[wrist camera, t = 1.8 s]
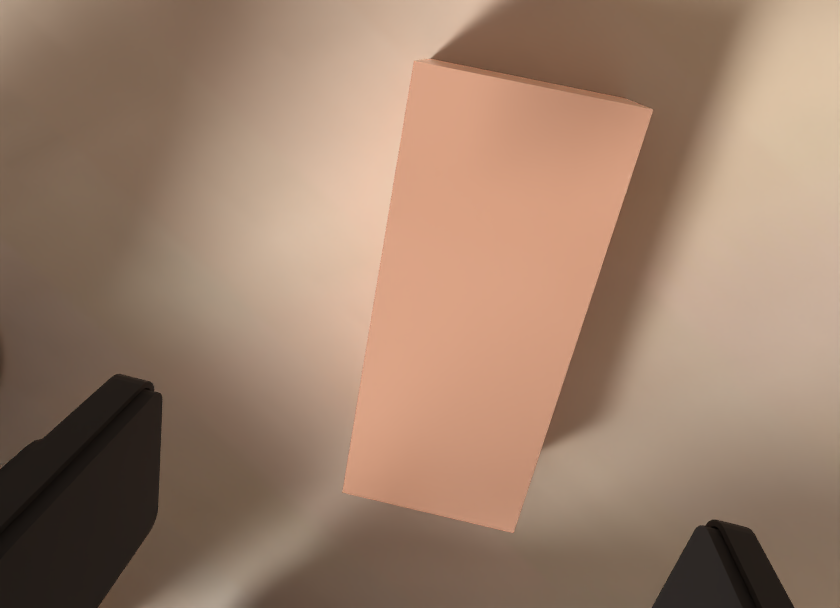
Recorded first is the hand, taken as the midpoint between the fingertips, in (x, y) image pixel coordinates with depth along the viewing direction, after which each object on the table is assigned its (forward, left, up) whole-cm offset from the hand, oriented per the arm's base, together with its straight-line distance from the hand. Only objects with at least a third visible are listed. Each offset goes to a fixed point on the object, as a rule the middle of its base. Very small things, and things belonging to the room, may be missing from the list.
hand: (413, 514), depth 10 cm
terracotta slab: (-1, 0, -12) cm, 12 cm away
